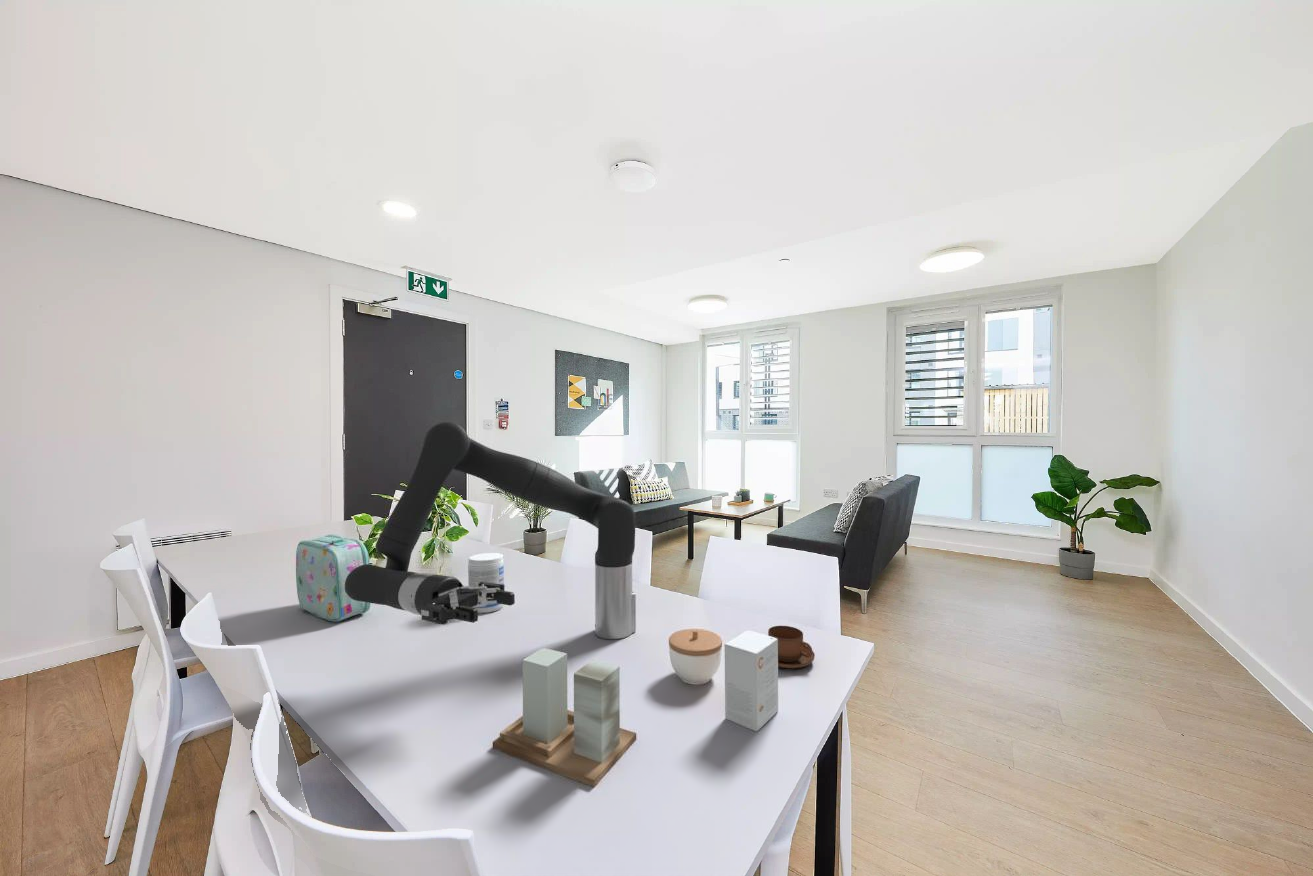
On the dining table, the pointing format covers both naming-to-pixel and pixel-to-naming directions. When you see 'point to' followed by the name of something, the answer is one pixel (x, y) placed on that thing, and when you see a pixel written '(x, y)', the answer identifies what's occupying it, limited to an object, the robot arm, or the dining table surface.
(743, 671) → the small box
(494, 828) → the dining table surface
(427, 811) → the dining table surface
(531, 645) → the dining table surface
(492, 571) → the supplement tub
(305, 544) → the lunch box
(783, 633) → the cup and saucer
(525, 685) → the sage block
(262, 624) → the dining table surface
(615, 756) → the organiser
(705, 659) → the lidded jar
